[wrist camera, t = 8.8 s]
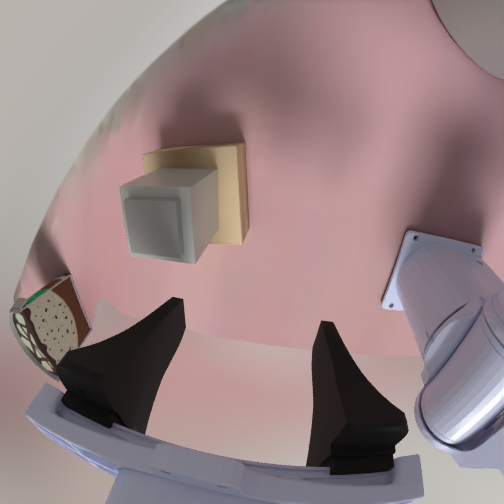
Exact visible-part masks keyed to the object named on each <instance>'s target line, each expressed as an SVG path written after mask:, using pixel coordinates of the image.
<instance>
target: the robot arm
mask: <svg viewBox="0 0 504 504" xmlns="http://www.w3.org/2000/svg"><path fill="white" fill-rule="evenodd" d="M414 236H417V238H416V239H414ZM473 248H474V249H473ZM472 249H473V251H472ZM483 251H484V249H483V248H482V247H481V246H479V245H475V244H471V243H466V242H462V241H458V240H454V239H449V238H445V237H440V236H436V235H431V234H427V233H422V232H417V231H412V230H409V231H407V232H406V234H405V236H404V240H403V243H402V246H401V249H400V253H399V256H398V259H397V262H396V265H395V267H394V270H393V273H392V276H391V279H390V281H389V284H388V287H387V290H386V292H385V295H384V297H383V300H382V302H381V305H382V308H383V309H390V310H400V311H405V314H406V316H407V318H408V321H409V323H410V326H411V328H412V331H413V334H414V336H415V339H416V341H417V344H418V347H419V350H420V352H421V355H422V358H423V361H424V365H425V366H424V370H423V372H422V373H421V376H422V379H423V383H424V387H423V389H422V390H421V391H420V393H419V394H418V396H417V398H416V401H415V407H414V413H415V419H416V423H417V426H418V428H419V430H420V432H421V433H422V435H423V436H424V437H425V439H426V440H427V441H428V442H429V443H431V444H432V445H433V446H435V447H437V448H439V449H441V450H443V451H445V452H447V453H448V454H450V455H451V456H452V457H453V458H454V460H455V461H456V462H457V464H458V465H459V467H461V468H469V469H496V470H499V471H500V472H501V474H502V475H503V477H504V412H503V411H504V283H503V282H502V280H501V279H500V278H499V277H498V276H497V275H496V274H495V273H494V272H493V270H492V269H491V268H490V267H489V266H488V265H487V264H486V263H485V262H484V261H483V260H482V259H481V257H482V255H483ZM392 303H393V304H392ZM390 304H392V305H390ZM185 328H186V324H185V314H184V302H183V299H180V298H175V297H172V298H171V299H169V300H168V301H167V302H165V303H164V304H163V305H161V306H160V307H159V308H157V309H156V310H155V311H154V312H152V313H151V314H149V315H148V316H147V317H145V318H144V319H143V320H141V321H140V322H138V323H136V324H135V325H133V326H132V327H130V328H129V329H127V330H125V331H124V332H121V333H119V334H117V335H115V336H113V337H111V338H108V339H106V340H104V341H102V342H99V343H96V344H93V345H90V346H86V347H83V348H78V349H74V350H69V351H67V353H66V354H65V355H64V356H63V358H62V359H61V360H60V362H59V363H58V364H57V366H56V368H55V369H56V373H57V375H58V377H59V379H60V380H61V382H62V383H63V385H64V386H65V388H66V389H67V391H66V393H65V394H64V393H63V392H62V391H60V390H59V389H57V388H55V387H54V386H52V385H50V384H49V383H45V384H44V386H43V387H42V389H41V390H40V391H39V393H38V394H37V396H36V397H35V399H34V400H33V402H32V403H31V405H30V406H29V407H28V409H27V411H26V412H25V415H26V416H27V417H28V418H29V419H30V420H31V421H32V422H33V423H34V424H35V425H36V426H37V427H38V428H39V429H40V430H41V431H42V432H43V433H44V434H45V435H46V436H47V437H49V438H50V439H52V440H53V441H55V442H56V443H58V444H59V445H61V446H62V447H64V448H65V449H67V450H69V451H70V452H72V453H74V454H75V455H77V456H78V457H80V458H82V459H83V460H85V461H87V462H88V463H90V464H92V465H94V466H95V467H97V468H99V469H101V470H103V471H105V472H107V473H109V474H110V475H113V476H114V477H116V479H115V482H114V484H113V486H112V489H111V491H110V493H109V496H108V498H107V501H106V503H105V504H409V503H411V502H413V501H416V500H418V499H420V498H422V497H423V496H424V488H423V479H422V470H421V463H420V456H419V455H418V454H416V455H410V456H403V457H398V458H395V459H393V454H394V453H395V451H396V450H395V445H396V444H397V443H399V442H400V441H401V440H402V439H403V438H404V437H405V436H406V435H407V433H408V425H407V420H406V417H405V413H404V412H402V411H401V410H400V409H398V408H397V407H396V406H394V405H393V404H392V403H390V402H389V401H388V400H387V399H386V398H385V397H384V396H382V395H381V394H380V393H379V392H378V391H377V390H376V388H375V387H374V386H373V385H372V384H371V383H370V382H369V381H368V380H367V378H366V377H365V376H364V375H363V373H362V372H361V371H360V369H359V368H358V366H357V365H356V363H355V362H354V360H353V359H352V357H351V355H350V354H349V352H348V350H347V348H346V347H345V345H344V343H343V341H342V339H341V337H340V335H339V333H338V331H337V329H336V327H335V325H334V323H333V322H329V321H321V323H320V326H319V330H318V333H317V336H316V339H315V342H314V345H313V350H312V383H313V418H312V428H311V437H310V444H309V452H308V457H307V463H306V467H305V466H288V465H277V464H268V463H259V462H252V461H246V460H240V459H233V458H229V457H224V456H218V455H214V454H209V453H205V452H201V451H197V450H193V449H189V448H185V447H182V446H178V445H175V444H171V443H168V442H165V441H162V440H159V439H156V438H153V437H150V436H147V435H145V432H146V428H147V424H148V420H149V417H150V413H151V410H152V406H153V403H154V400H155V397H156V394H157V391H158V388H159V386H160V383H161V380H162V378H163V376H164V373H165V371H166V370H167V368H168V366H169V364H170V362H171V360H172V358H173V356H174V354H175V352H176V350H177V348H178V346H179V344H180V342H181V339H182V337H183V334H184V331H185ZM502 412H503V413H502ZM501 413H502V414H501ZM500 414H501V415H500Z"/></svg>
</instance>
